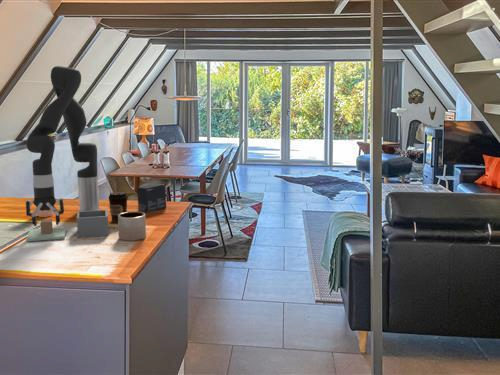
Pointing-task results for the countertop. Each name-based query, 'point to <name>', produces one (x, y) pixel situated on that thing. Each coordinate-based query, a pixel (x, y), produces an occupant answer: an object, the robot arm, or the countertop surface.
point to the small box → (151, 197)
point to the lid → (46, 232)
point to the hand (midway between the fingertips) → (46, 224)
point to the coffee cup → (117, 204)
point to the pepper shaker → (45, 213)
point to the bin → (92, 223)
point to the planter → (131, 226)
